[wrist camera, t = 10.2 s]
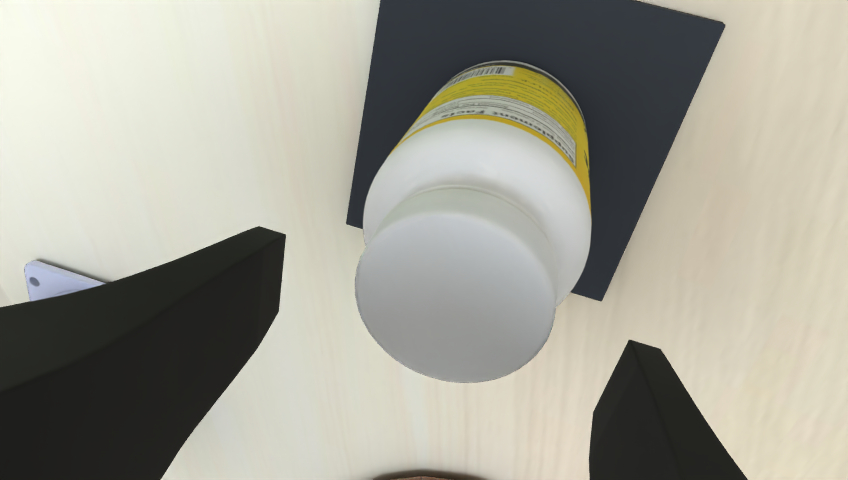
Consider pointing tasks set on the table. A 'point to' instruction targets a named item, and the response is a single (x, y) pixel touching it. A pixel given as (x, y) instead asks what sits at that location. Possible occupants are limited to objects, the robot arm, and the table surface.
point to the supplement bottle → (477, 225)
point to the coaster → (571, 65)
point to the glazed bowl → (422, 478)
